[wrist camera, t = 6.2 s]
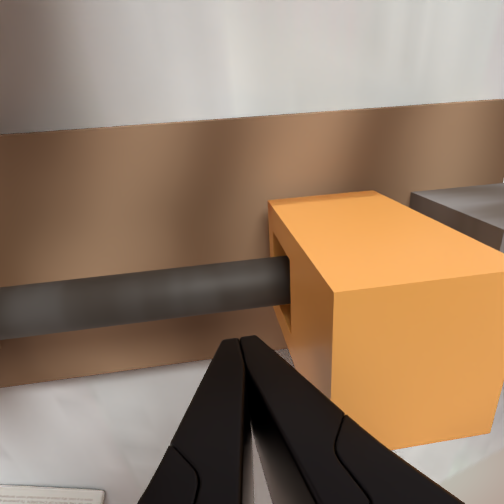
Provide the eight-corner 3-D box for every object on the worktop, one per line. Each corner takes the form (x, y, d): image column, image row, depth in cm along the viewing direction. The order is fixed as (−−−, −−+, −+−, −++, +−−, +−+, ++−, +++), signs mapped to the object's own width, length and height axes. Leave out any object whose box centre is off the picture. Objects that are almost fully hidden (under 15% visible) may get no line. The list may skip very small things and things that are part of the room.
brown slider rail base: (496, 99, 15) (675, 95, 9) (457, 309, 18) (566, 396, 13) (-151, 145, 12) (-440, 177, 7) (-41, 376, 16) (-167, 516, 11)
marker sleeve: (373, 190, 13) (533, 268, 7) (365, 293, 15) (489, 433, 9) (267, 200, 13) (333, 292, 7) (272, 305, 15) (329, 460, 8)
